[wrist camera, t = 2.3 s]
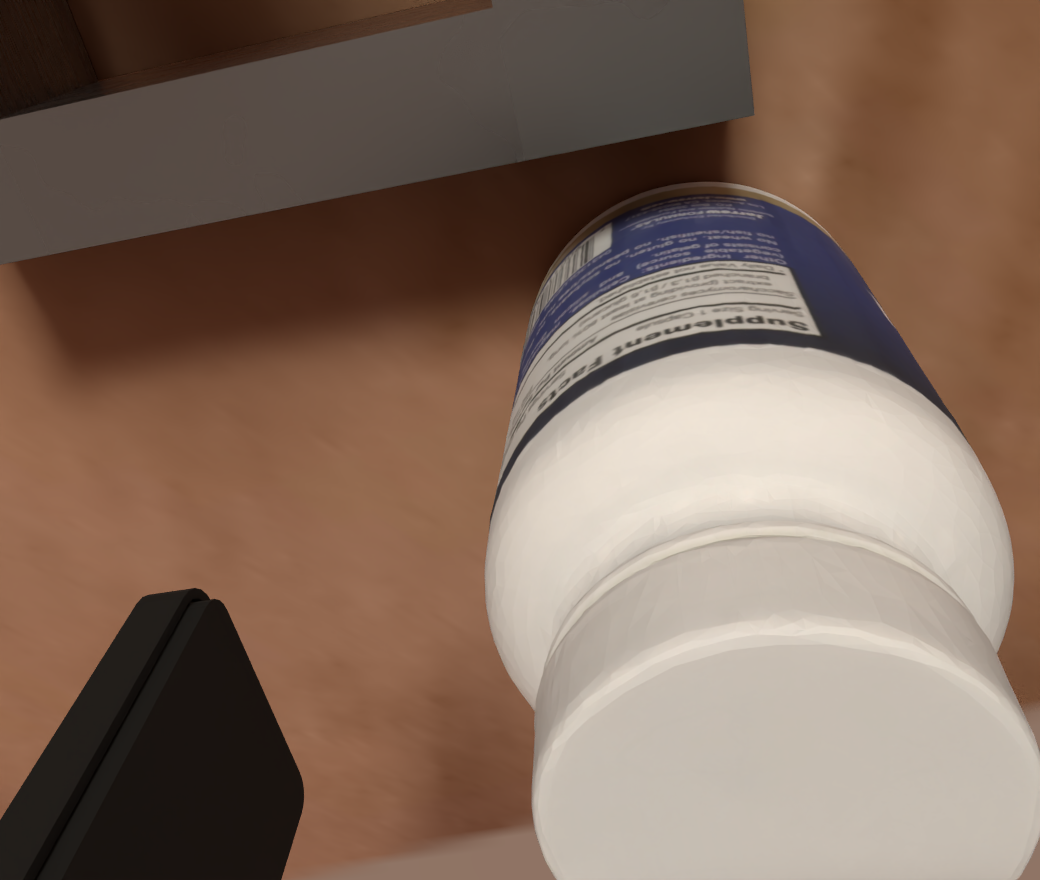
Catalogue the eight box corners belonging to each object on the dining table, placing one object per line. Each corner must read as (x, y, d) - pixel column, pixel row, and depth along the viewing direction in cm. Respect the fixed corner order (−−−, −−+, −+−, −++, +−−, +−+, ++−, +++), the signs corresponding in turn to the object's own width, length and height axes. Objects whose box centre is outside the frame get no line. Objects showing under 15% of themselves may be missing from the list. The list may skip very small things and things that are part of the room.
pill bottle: (884, 439, 17) (1159, 1003, 8) (579, 504, 18) (551, 1057, 9) (836, 127, 14) (1156, 474, 6) (488, 225, 16) (337, 633, 7)
